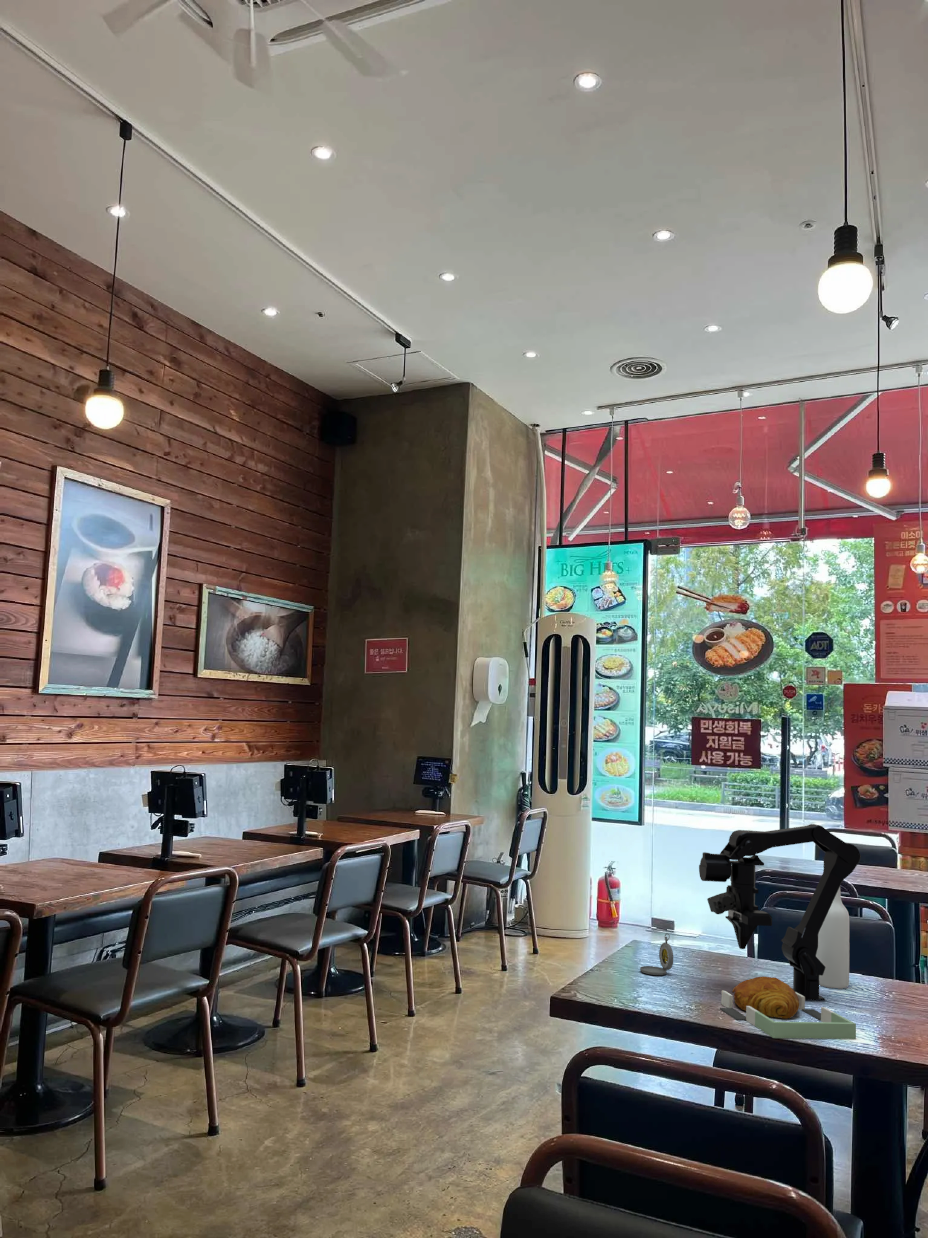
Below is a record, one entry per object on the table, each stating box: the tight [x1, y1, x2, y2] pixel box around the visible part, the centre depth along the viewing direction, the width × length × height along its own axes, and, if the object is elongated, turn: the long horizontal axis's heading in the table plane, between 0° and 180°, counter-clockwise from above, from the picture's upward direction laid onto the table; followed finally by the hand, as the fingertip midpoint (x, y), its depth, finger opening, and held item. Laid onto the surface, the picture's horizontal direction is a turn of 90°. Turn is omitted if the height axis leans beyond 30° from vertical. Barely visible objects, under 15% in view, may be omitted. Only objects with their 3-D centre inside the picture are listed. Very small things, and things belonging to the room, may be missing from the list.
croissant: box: [732, 976, 800, 1020], centre depth 209 cm, size 14×16×8 cm
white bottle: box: [816, 865, 850, 990], centre depth 237 cm, size 9×9×30 cm
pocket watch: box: [639, 932, 674, 976], centre depth 236 cm, size 8×8×10 cm
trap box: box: [719, 990, 857, 1040], centre depth 200 cm, size 24×23×3 cm
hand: (741, 949), depth 222 cm, fingers closed
